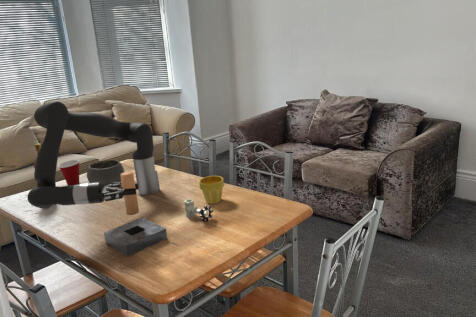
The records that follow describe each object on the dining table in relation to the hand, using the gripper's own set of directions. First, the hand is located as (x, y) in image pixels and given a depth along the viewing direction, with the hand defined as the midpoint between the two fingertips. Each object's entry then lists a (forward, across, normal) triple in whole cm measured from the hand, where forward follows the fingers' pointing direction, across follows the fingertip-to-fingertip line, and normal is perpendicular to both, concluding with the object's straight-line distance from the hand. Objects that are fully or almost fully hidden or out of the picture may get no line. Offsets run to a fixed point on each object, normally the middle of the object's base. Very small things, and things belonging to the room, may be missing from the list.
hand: (136, 188), depth 150 cm
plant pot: (+27, +25, +18) cm, 41 cm away
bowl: (-25, +58, +18) cm, 66 cm away
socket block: (-2, -4, +18) cm, 19 cm away
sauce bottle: (-50, +47, +19) cm, 71 cm away
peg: (-3, 0, +9) cm, 9 cm away
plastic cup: (-46, +69, +18) cm, 85 cm away
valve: (+20, +9, +18) cm, 28 cm away
